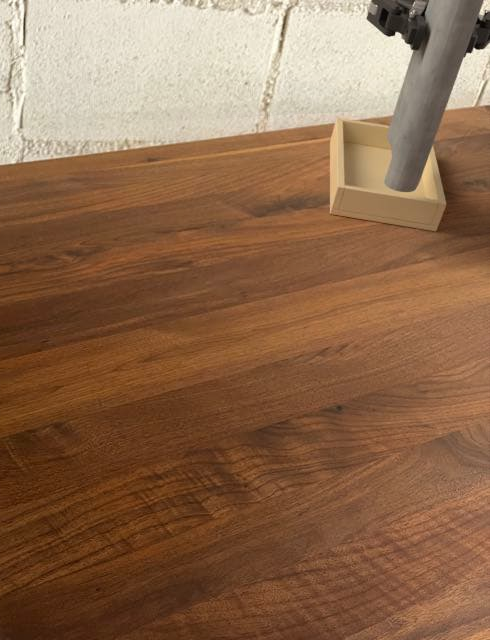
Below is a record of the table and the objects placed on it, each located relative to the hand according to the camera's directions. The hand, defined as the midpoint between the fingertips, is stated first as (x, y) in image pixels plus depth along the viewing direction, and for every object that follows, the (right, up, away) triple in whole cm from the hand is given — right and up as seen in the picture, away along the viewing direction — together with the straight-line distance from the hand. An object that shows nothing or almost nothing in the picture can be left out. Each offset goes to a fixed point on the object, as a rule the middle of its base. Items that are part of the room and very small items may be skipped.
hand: (442, 42), depth 85 cm
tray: (0, -6, +19) cm, 20 cm away
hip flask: (-1, -9, +7) cm, 11 cm away
